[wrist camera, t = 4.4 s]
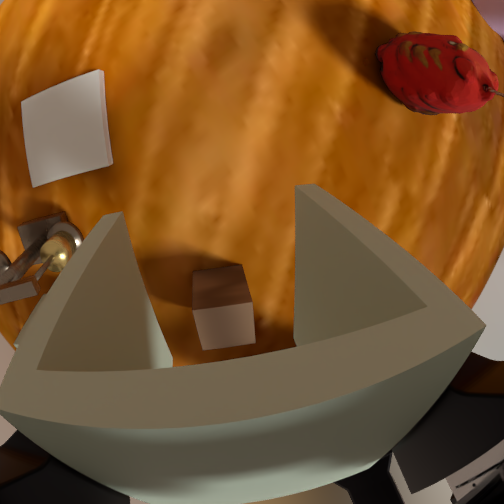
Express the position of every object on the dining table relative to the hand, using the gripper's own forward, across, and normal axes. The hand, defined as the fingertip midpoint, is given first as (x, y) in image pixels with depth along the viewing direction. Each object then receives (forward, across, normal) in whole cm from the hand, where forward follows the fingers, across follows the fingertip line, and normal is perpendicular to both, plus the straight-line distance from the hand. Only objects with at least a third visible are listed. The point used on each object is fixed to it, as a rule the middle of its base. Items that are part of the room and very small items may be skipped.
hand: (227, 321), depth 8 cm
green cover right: (+2, 0, 0) cm, 2 cm away
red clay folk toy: (+13, -17, -10) cm, 24 cm away
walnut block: (+12, 0, +8) cm, 15 cm away
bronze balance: (+13, +14, 0) cm, 19 cm away
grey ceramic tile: (+13, +10, -8) cm, 18 cm away
